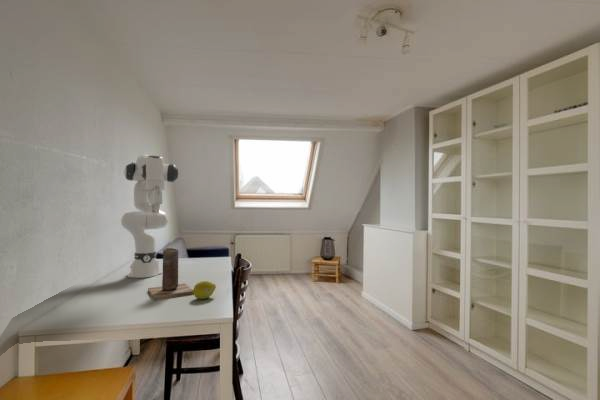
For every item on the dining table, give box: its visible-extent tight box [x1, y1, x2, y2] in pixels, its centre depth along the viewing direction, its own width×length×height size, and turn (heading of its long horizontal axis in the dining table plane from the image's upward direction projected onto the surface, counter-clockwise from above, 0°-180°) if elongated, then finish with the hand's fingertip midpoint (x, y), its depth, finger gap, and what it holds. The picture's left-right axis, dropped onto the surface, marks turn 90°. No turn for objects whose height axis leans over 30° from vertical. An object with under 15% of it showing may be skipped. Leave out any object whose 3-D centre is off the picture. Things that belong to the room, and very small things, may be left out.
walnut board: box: [147, 282, 194, 301], centre depth 162 cm, size 18×18×2 cm
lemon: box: [192, 280, 217, 300], centre depth 152 cm, size 11×8×8 cm
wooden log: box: [161, 247, 179, 290], centre depth 163 cm, size 8×7×20 cm
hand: (155, 213), depth 170 cm, fingers open, 8 cm apart
